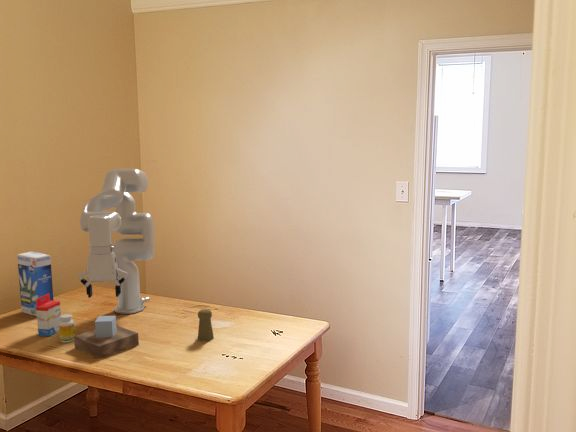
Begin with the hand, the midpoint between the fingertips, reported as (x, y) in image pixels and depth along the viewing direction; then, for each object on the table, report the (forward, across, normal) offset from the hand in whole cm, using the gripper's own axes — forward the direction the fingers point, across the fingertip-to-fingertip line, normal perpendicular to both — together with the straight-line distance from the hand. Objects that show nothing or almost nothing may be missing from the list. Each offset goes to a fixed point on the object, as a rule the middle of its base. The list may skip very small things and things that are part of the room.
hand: (104, 296), depth 206 cm
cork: (+19, -36, -3) cm, 40 cm away
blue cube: (+14, 0, +1) cm, 14 cm away
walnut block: (+19, 0, +1) cm, 19 cm away
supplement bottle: (+19, +16, -7) cm, 26 cm away
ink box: (+19, +25, -16) cm, 35 cm away
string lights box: (+19, +39, -42) cm, 60 cm away
